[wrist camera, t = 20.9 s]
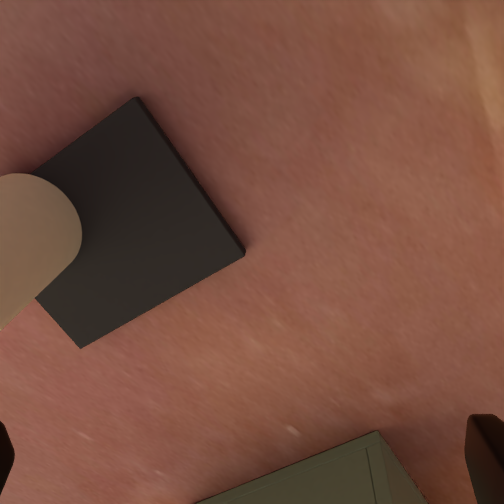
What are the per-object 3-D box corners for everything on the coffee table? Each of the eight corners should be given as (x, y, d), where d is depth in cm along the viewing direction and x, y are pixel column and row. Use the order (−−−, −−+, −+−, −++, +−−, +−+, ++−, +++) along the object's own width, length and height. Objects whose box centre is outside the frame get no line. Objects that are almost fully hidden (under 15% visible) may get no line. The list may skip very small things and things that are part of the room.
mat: (138, 95, 19) (133, 96, 19) (246, 250, 22) (245, 256, 21) (-27, 217, 22) (-35, 221, 21) (84, 342, 24) (80, 349, 24)
